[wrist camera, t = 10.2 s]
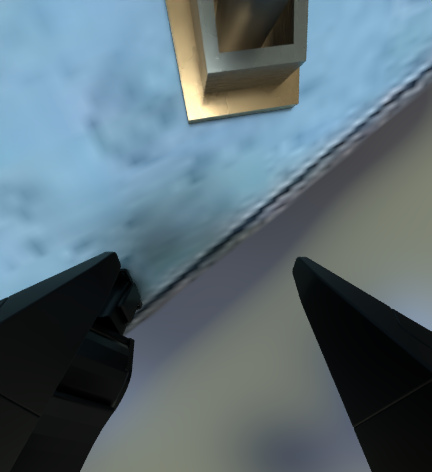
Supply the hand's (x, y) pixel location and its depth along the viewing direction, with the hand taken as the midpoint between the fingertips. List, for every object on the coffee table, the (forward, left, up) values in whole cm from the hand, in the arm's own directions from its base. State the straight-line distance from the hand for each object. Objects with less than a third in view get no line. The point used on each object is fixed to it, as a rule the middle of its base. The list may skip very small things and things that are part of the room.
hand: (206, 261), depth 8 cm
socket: (+7, +14, -12) cm, 20 cm away
